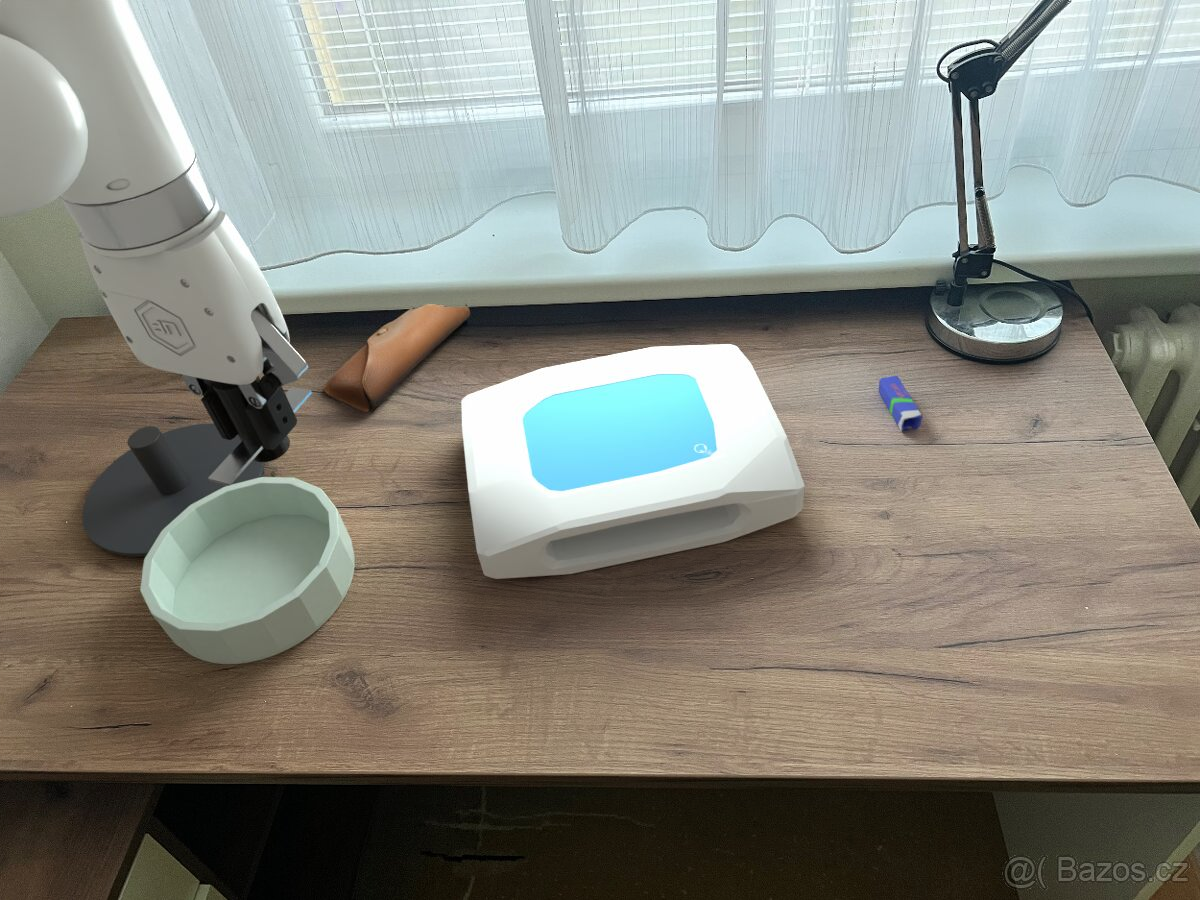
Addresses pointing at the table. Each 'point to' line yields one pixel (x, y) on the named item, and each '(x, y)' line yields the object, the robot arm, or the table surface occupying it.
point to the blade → (248, 431)
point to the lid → (156, 485)
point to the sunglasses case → (392, 355)
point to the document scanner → (624, 460)
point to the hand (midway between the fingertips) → (260, 429)
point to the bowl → (249, 570)
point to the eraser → (899, 403)
